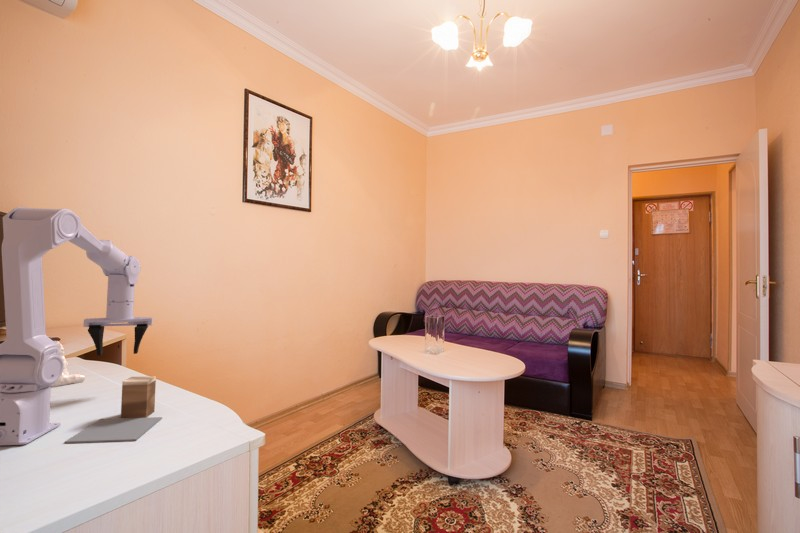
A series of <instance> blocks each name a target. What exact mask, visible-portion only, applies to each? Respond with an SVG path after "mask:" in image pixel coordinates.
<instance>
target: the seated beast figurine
mask: <svg viewBox="0 0 800 533" xmlns="http://www.w3.org/2000/svg"><path fill="white" fill-rule="evenodd" d="M53 341H54V342H55V343H56V344H58V345H59V353H60V355H61V357H62V359H63V362H64V369H63V372H62V374H61V376H60V378H59V379H58V380H57V381H56V382H55V385H52V386H51V388H55V386H56V387H60V386H61V387H62V386H68V385H75V384H79V383H83V382H84V381H85V378H86V377H85V375H83V374H79V373H78V372H77V373H76V372H75V373H72V374H70V372H69V370H68V366H69V363H68V361H67V359H66V357H65V354H66V353H65V348H64V346H63V344H62V343H60V341H59V340H53Z"/></svg>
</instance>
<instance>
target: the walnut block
mask: <svg viewBox="0 0 800 533" xmlns="http://www.w3.org/2000/svg"><path fill="white" fill-rule="evenodd" d="M156 378H157V376H155V375H154V376H131V377H129V378H127V379H125V380H123V381H122V382H121V384H122V387H121V401H120V402H121V406H120V418H149V417H150V416H151V415H152V414H153V413H155V405H156V384H157V383H156V382H157V380H156Z"/></svg>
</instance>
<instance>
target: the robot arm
mask: <svg viewBox="0 0 800 533" xmlns="http://www.w3.org/2000/svg"><path fill="white" fill-rule="evenodd" d="M2 228H3V230H2V231H3V239H2V243H1V263H2V280H3V281H2V283H3V296H4V298H3V299H4V311H5V312H4V317H5V332H6V333H5V334H6V336H5V337H6V339H5V340H4V341H3V342H1V343H0V446H19V445H20V446H22V445H26V444H29V443H30V442H32V441H34V440H36V439H38V438H39V437H41V436H43V435H46V434H47V433H49V432H50V431H52V430H54V429H55V428H58V427H60V426H61V422H50V415H51V413H50V412H51V396H52V395H51V394H52V387H51V386H52V385H55V382H56V381H57V380H58V379H59V378H60V376H61V374H62V372H63V369H64V362H63V359H62V357H61V355H60V353H59V345H58V344H56V343H55V342H54V341H55V340H53V339H51V338H50V337H49V336H47V334H46V313H45V311H46V310H45V292H44V291H45V290H44V289H45V287H44V271H43V270H44V269H43V256H45V255H46V254H47V253H48V252H49V251H50V250H52V249H56V248H57V247H60V246H61V245H63V244H65V243H67V242H69V243H72V244H73V245H75V246H77V247H78V248H80V249H81V250H84V251H86V252H85V254H86V257H87V259H89V260H90V261H91V262H93V263H95V265H98V266H99V267H100V268H101V269H102V272H103V275H104V276H105V277H107V289H106V290H107V291H106V292H107V293H106V311H105V312H106V313H105V317H98V318H97V317H95V318H93V317H92V318H85V319H83V328H88V329H87V331H88V332H87V333H88V334H89V336H90V337H91V339H92V341H93V344H94V346H95V349H96V350H95V351H96V356H99V357H100V356H102V355H103V352H104V347H103V346H104V344H103V343H104V342H103V340H104V331H105V327H122V326H123V327H124V326H127V327H128V326H135V327H134V342H133V343H134V344H133V354H134V355H136V354H138V353H139V348H140V344H141V342H142V340H143V338H144V337H143V336H144V335H145V333H146V331H147V329H148V327H149V326H153V323H154V317H141V316H140V317H138V316H136V317H135V316H134V306H135V305H134V304H135V302H134V301H135V285H136V284H137V282H138V277H139V275H140V273H141V271H142V270H141V269H142V266H141V264H140V261H139V259H138V258H137V257H135V256H133V255H127V254H126V253H125V252H124V251H123V250H122V249H120V248H118V247H117V246H115V245H114V244H113V241H112V240H109V239H99V238H97V237H96V236H95V235H94V234H93V233H91V232H90V231H89V230H88V228H86V227H85V226H84V225H83V224H82V219H81V217H80V216H79V215H77V214H76V213H75V212H74V211H73V210H71V209H68V208H38V207H37V208H36V207H34V208H31V207H23V206H18V207H15V208H13V209H11V210H10V211H8V213H6V214H5V215H3V216H2Z"/></svg>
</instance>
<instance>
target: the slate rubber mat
mask: <svg viewBox="0 0 800 533" xmlns="http://www.w3.org/2000/svg"><path fill="white" fill-rule="evenodd" d="M162 419H163V417H160V416H159V417H152V416H151V417H147V418H121V417H120V418H119V417H118V418H100V419H98V420H97V421H95V422H94V423H92V424H90V425H88V426H87V427H86V428H84V429H83V430H81V431H79V432H78V433H76V434H74V435H73V436H72V437H70V438H68V439H67V440H65V441H64V444H78V443H80V444H81V443H82V444H83V443H105V442H106V443H107V442H136V441H137V440H138V439H140V438H141V437H142V436H144V435H145V434H146V433H147V432H149V430H151V429H152V428H153V427H154V426H155V425H156V424H157V423H159V422H160V421H161V420H162Z"/></svg>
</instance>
